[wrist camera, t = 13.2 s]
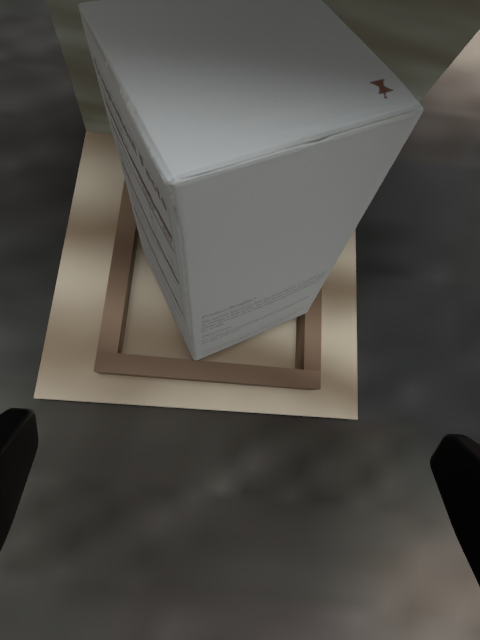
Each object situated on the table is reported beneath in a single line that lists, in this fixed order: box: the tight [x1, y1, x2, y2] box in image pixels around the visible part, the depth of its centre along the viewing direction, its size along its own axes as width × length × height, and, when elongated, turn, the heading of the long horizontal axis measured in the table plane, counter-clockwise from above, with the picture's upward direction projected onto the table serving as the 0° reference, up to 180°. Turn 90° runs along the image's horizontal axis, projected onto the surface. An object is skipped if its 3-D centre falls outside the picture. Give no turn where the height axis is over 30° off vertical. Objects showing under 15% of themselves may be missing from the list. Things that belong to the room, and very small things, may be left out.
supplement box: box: [78, 0, 423, 361], centre depth 15 cm, size 7×7×13 cm
